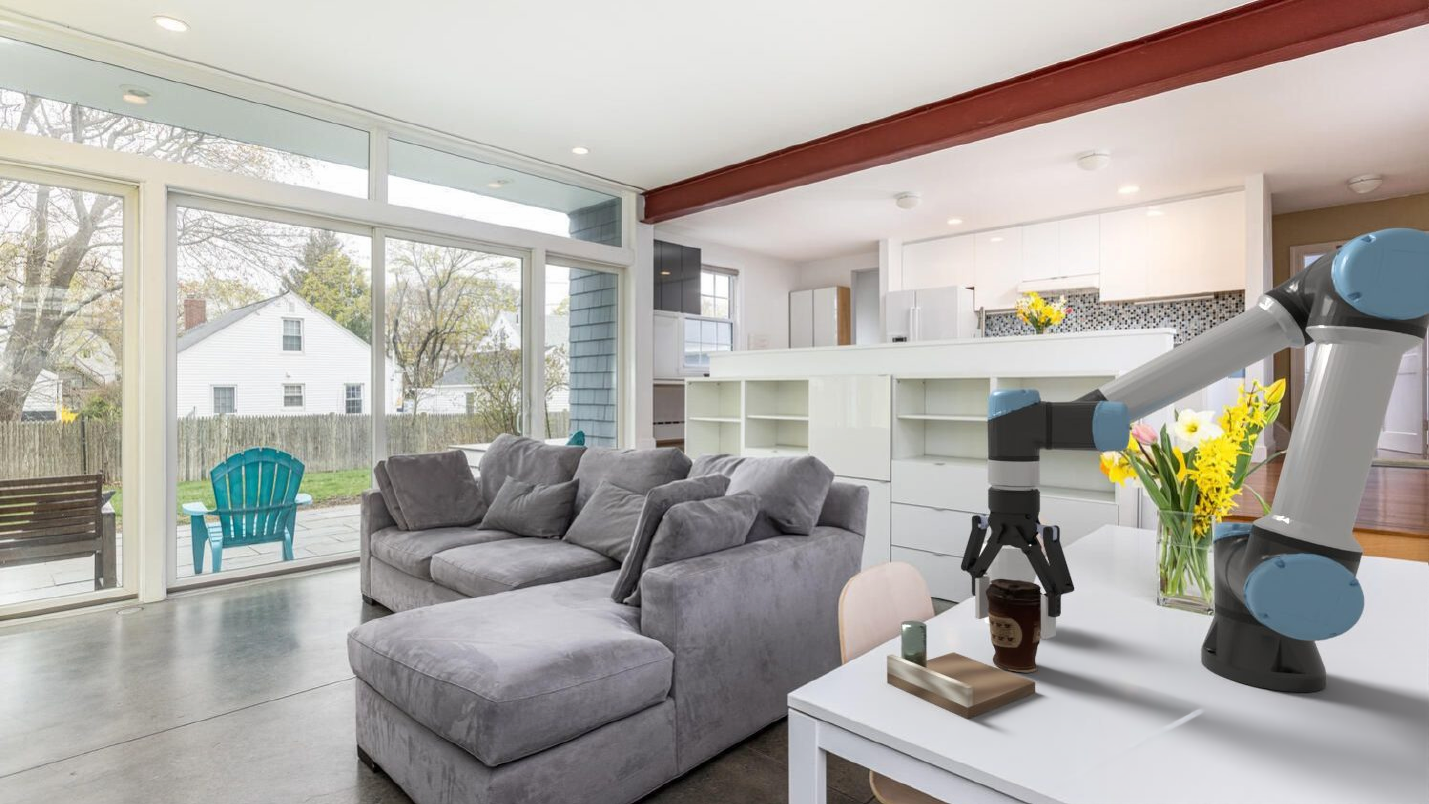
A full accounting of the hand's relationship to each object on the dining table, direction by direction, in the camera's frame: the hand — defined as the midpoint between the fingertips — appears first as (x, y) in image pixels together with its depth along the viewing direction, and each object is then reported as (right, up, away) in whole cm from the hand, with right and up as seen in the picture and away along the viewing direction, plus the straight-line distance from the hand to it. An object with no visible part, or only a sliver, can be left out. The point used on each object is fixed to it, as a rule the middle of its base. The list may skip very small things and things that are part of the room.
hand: (1014, 626), depth 109 cm
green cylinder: (-18, -5, -7) cm, 19 cm away
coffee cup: (0, -6, -1) cm, 6 cm away
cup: (+7, -6, +20) cm, 22 cm away
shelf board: (-12, -6, -9) cm, 16 cm away
